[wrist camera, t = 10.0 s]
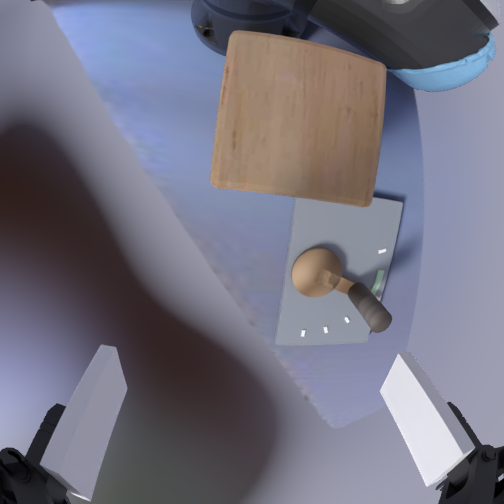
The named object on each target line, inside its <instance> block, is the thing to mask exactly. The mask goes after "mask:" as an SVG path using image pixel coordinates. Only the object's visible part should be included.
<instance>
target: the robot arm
mask: <svg viewBox="0 0 504 504" xmlns="http://www.w3.org/2000/svg"><path fill="white" fill-rule="evenodd" d="M499 2H500V0H194V2H193V5H192V10H191V19H192V23H193V26H194V29H195V32H196V34H197V36H198V37H199V39H200V40H201V41H202V42H203V43H204V44H205V45H206V46H207V47H209V48H210V49H211V50H213V51H215V52H217V53H219V54H221V55H224V56H226V54H227V48H228V42H229V37H230V35H231V34H232V33H233V31H238V30H241V31H251V32H260V33H268V34H274V35H281V36H286V37H292V38H297V39H300V37H301V35H302V34H303V32H304V30H305V28H306V25H307V21H308V20H309V21H311V22H313V23H315V24H317V25H318V26H320V27H322V28H324V29H326V30H327V31H329V32H331V33H333V34H334V35H336V36H338V37H339V38H341V39H343V40H344V41H346V42H347V43H349V44H351V45H352V46H354V47H355V48H357V49H358V50H360V51H361V52H363V53H364V54H365V55H367V56H368V57H370V58H371V59H373V60H375V61H378V62H381V63H383V64H384V65H385V66H386V71H389V72H391V73H393V74H394V75H395V76H397V77H398V78H399V79H401V80H402V81H403V82H405V83H406V84H407V85H409V86H411V87H413V88H415V89H417V90H424V91H428V92H439V91H446V90H450V89H454V88H457V87H459V86H462V85H464V84H466V83H468V82H470V81H471V80H473V79H474V78H476V77H478V76H479V75H480V74H481V73H482V72H484V70H485V69H486V68H487V67H488V64H487V62H488V61H491V60H493V58H494V55H495V51H496V46H495V41H494V39H493V35H492V33H491V32H490V31H491V30H492V29H494V28H495V27H497V26H498V25H499V24H501V14H500V7H499ZM126 391H127V385H126V382H125V379H124V376H123V372H122V368H121V365H120V361H119V357H118V353H117V349H116V347H111V346H106V345H101V346H100V348H99V349H98V351H97V352H96V354H95V356H94V358H93V359H92V361H91V363H90V364H89V366H88V368H87V370H86V372H85V373H84V375H83V377H82V379H81V380H80V382H79V384H78V386H77V388H76V390H75V391H74V393H73V395H72V397H71V399H70V401H69V403H68V405H67V407H66V406H63V405H60V404H56V405H54V406H53V407H52V408H51V409H50V410H49V411H48V412H47V414H46V416H45V418H44V421H43V422H42V423H41V425H40V429H39V430H38V431H37V433H36V435H35V438H34V439H33V441H32V443H31V445H30V448H29V450H28V452H27V454H26V456H25V457H24V456H23V455H22V454H21V453H20V452H19V451H18V450H16V449H14V448H5V449H2V450H1V451H0V504H71V503H70V501H69V499H68V497H67V496H66V492H67V490H68V491H70V492H71V493H72V494H74V495H76V496H78V497H81V498H83V499H86V500H88V501H91V498H92V494H93V491H94V487H95V484H96V480H97V477H98V473H99V470H100V467H101V463H102V460H103V457H104V454H105V451H106V448H107V445H108V442H109V439H110V436H111V433H112V430H113V427H114V424H115V421H116V418H117V415H118V413H119V410H120V407H121V404H122V402H123V399H124V396H125V394H126ZM380 393H381V394H382V396H383V398H384V400H385V402H386V404H387V406H388V408H389V410H390V412H391V414H392V415H393V418H394V419H395V421H396V424H397V426H398V427H399V429H400V431H401V433H402V436H403V438H404V440H405V442H406V444H407V446H408V447H409V450H410V452H411V454H412V456H413V458H414V460H415V463H416V465H417V467H418V469H419V471H420V473H421V476H422V478H423V480H424V482H425V484H426V486H429V485H431V484H433V483H435V482H437V481H439V480H440V479H441V478H443V477H444V476H445V475H446V474H447V476H448V477H447V478H446V479H445V480H444V481H443V482H441V483H440V484H439V485H438V486H437V488H436V490H438V489H439V488H440V487H442V486H443V485H444V486H443V487H442V488H441V489H440V491H442V494H441V497H440V500H439V503H438V504H504V478H503V479H502V480H501V481H498V477H499V476H501V475H502V474H503V473H504V446H502V447H499V448H494V447H493V446H491V445H482V444H481V443H480V441H479V440H478V439H477V437H476V435H475V433H474V432H473V430H472V429H471V427H470V426H469V424H468V423H466V420H465V418H464V417H462V414H461V412H460V411H459V409H458V408H457V407H456V406H454V405H453V404H452V403H451V402H448V403H446V401H445V400H444V398H443V397H442V395H441V394H440V393H439V391H438V390H437V389H436V387H435V385H434V384H433V382H432V381H431V380H430V378H429V377H428V375H427V374H426V373H425V372H424V370H423V369H422V367H421V366H420V365H419V363H418V362H417V360H416V359H415V358H414V356H413V355H412V354H411V352H404V353H398V355H397V357H396V360H395V362H394V364H393V366H392V368H391V370H390V372H389V374H388V376H387V378H386V380H385V382H384V384H383V386H382V388H381V390H380Z"/></svg>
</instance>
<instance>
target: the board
mask: <svg viewBox="0 0 504 504" xmlns="http://www.w3.org/2000/svg"><path fill="white" fill-rule="evenodd" d="M402 207H403V202H400V201H396V200H391V199H385V198H379V197H373V199H372V203H371V205H370V206H368V207H365V208H361V207H355V206H350V205H344V204H338V203H331V202H325V201H318V200H312V199H305V198H298V197H294V202H293V211H292V219H291V227H290V235H289V243H288V251H287V258H286V266H285V273H284V280H283V287H282V294H281V301H280V307H279V314H278V320H277V327H276V333H275V339H274V340H275V345H329V344H350V343H365V342H367V339H368V336H369V333H370V330H371V328H370V327H369V326H368V324H367V323H366V321H365V320H364V318H363V317H362V316H361V314H360V313H359V311H358V310H357V309H356V307H355V306H354V304H353V303H352V302H351V300H350V299H349V297H348V295H347V294H344V293H342V292H340V291H337V290H335V289H334V290H333V291H331V292H330V293H328V294H327V295H324V296H321V297H307V296H305V295H303V294H301V293H300V292H299V291H298V290H297V289H296V287H295V286H294V283H293V281H292V277H291V270H292V266H293V264H294V262H295V260H296V259H297V257H298V256H299V255H300V254H301V253H303V252H304V251H306V250H308V249H311V248H315V247H323V248H326V249H329V250H331V251H332V252H333V253H334V254H335V255H336V256H337V257H338V258H339V260H340V262H341V264H342V276H343V277H345V278H348V279H350V280H352V281H354V282H356V283H358V282H361V283H363V284H364V285H365V286H366V287H367V288H369V289H370V291H371V292H372V293H373V295H375V296H378V297H379V298H380V300H381V296H382V293H383V290H384V286H385V283H386V279H387V275H388V271H389V268H390V264H391V260H392V255H393V251H394V247H395V242H396V238H397V233H398V228H399V223H400V218H401V212H402ZM380 300H379V301H380Z"/></svg>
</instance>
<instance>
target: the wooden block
mask: <svg viewBox="0 0 504 504" xmlns="http://www.w3.org/2000/svg"><path fill="white" fill-rule="evenodd" d="M385 92H386V66H385V65H384V64H383V63H381V62H378V61H375V60H373V59H370V58H367V57H364V56H361V55H358V54H355V53H352V52H349V51H345V50H342V49H338V48H335V47H331V46H328V45H324V44H320V43H315V42H311V41H307V40H302V39H297V38H292V37H286V36H281V35H274V34H268V33H260V32H251V31H241V30H238V31H233V33H232V34H231V35H230V37H229V42H228V48H227V54H226V60H225V66H224V72H223V79H222V85H221V92H220V99H219V106H218V114H217V122H216V130H215V138H214V146H213V155H212V164H211V174H210V181H211V184H212V186H214V187H216V188H220V189H230V190H240V191H249V192H258V193H267V194H275V195H283V196H290V197H298V198H305V199H312V200H318V201H325V202H331V203H338V204H344V205H350V206H355V207H361V208H365V207H368V206H370V205H371V203H372V199H373V193H374V187H375V182H376V175H377V169H378V162H379V155H380V147H381V139H382V129H383V119H384V107H385Z"/></svg>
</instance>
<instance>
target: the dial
mask: <svg viewBox="0 0 504 504" xmlns="http://www.w3.org/2000/svg"><path fill="white" fill-rule="evenodd" d="M291 277H292V281H293V283H294V286H295V287H296V289H297V290H298V291H299V292H300V293H301V294H303V295H305V296H307V297H321V296H324V295H327V294H328V293H330V292H331V291H333V290H334V289H335V290H337V291H340V292H342V293H344V294H347V295H348V297H349V299H350V300H351V302H352V303H353V304H354V306H355V307H356V309H357V310H358V311H359V313H360V314H361V316H362V317H363V318H364V320H365V321H366V323H367V324H368V326H369V327H370V328H371V330H372V331H373V332H375V333H379V332H382V331H384V330H386V329H387V328H388V327H389V325H390V324H391V321H392V316H391V314H390V313H389V312H388V311H387V310H386V308H385V307H384V306H383V305H382V304H381V303H380V301H379V300H380V298H379V297H378V296H375V295H373V293H372V292H371V291H370V289H369V288H367V287H366V286H365V285H364V284H363V283H361V282H358V283H356V282H354V281H352V280H350V279H348V278H345V277H343V276H342V264H341V262H340V260H339V258H338V257H337V256H336V255H335V254H334V253H333V252H332V251H331V250H329V249H326V248H323V247H315V248H311V249H308V250H306V251H304V252H303V253H301V254H300V255H299V256H298V257H297V259H296V260H295V262H294V264H293V266H292V270H291Z"/></svg>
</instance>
